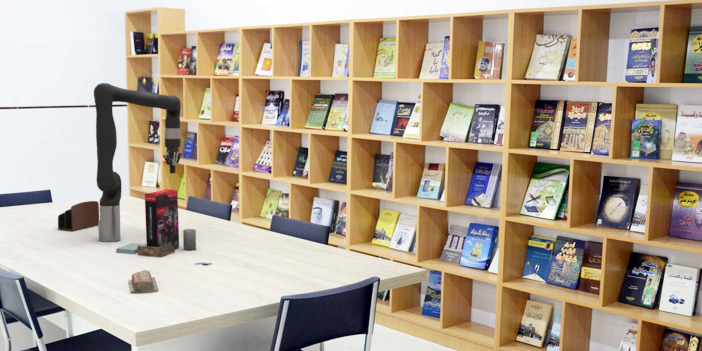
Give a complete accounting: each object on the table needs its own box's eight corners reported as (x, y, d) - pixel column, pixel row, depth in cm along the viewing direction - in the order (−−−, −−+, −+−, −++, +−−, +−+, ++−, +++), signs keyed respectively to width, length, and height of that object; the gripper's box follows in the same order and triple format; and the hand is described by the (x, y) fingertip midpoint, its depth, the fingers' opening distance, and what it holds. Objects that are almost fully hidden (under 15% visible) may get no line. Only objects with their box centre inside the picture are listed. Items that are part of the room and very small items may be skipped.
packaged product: (158, 280, 279) (130, 282, 276) (158, 293, 280) (130, 295, 277) (154, 268, 296) (128, 270, 293) (155, 280, 297) (128, 282, 294)
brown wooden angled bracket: (137, 254, 338) (137, 246, 338) (152, 249, 349) (151, 241, 348) (160, 257, 334) (160, 248, 334) (174, 252, 345) (174, 243, 344)
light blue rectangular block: (116, 253, 342) (116, 248, 342) (131, 247, 354) (131, 242, 354) (134, 255, 340) (134, 250, 339) (149, 249, 352) (149, 244, 352)
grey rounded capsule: (181, 250, 349) (180, 230, 348) (187, 247, 355) (187, 228, 354) (191, 251, 348) (191, 231, 347) (198, 248, 353) (198, 229, 352)
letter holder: (99, 225, 405) (99, 199, 403) (72, 232, 387) (72, 204, 385) (85, 224, 409) (84, 198, 407) (57, 230, 391) (56, 203, 389)
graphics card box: (157, 255, 338) (157, 194, 335) (144, 253, 341) (143, 193, 338) (179, 247, 354) (179, 189, 351) (167, 246, 357) (166, 188, 353)
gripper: (173, 136, 374) (173, 171, 376) (158, 137, 361) (158, 174, 363) (186, 137, 371) (186, 172, 373) (171, 138, 359) (171, 175, 361)
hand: (172, 173), depth 368 cm, fingers closed
